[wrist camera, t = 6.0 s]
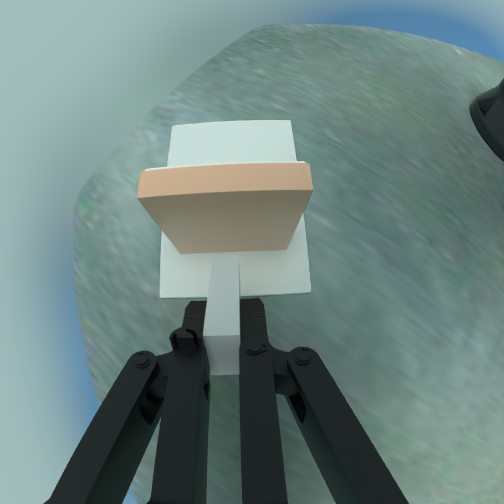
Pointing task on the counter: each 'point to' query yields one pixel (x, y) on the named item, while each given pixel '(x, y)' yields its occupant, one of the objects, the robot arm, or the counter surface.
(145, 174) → the terracotta tile
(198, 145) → the white rectangular board
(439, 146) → the counter surface
